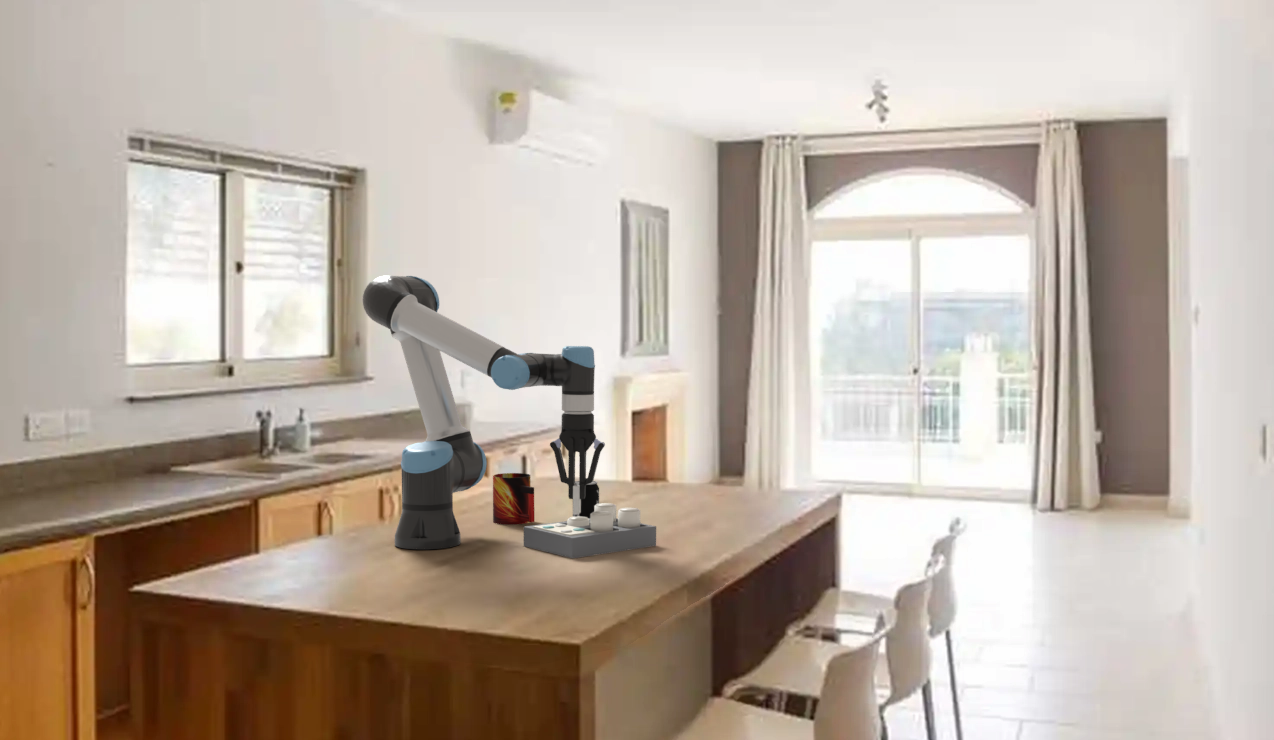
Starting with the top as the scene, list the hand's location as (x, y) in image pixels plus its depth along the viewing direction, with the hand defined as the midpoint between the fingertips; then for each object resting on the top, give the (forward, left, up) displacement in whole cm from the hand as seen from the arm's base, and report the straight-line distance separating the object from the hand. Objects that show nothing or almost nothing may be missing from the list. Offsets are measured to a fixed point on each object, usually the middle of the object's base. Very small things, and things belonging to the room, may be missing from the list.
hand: (576, 512), depth 297 cm
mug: (+6, +33, -7) cm, 35 cm away
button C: (0, -9, -4) cm, 10 cm away
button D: (+8, -9, -4) cm, 13 cm away
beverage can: (+12, +13, -7) cm, 19 cm away
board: (0, -5, -7) cm, 9 cm away
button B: (+8, 0, -4) cm, 9 cm away
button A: (0, 0, -6) cm, 6 cm away
